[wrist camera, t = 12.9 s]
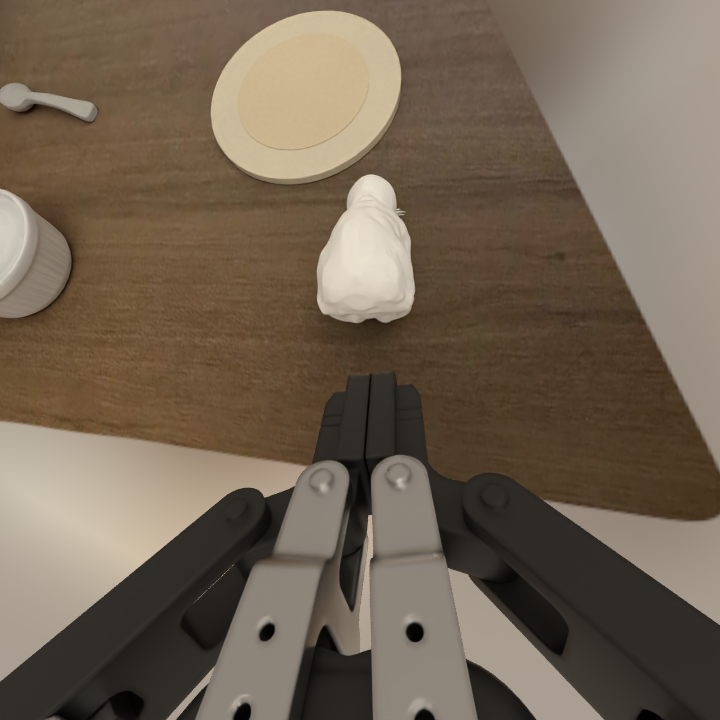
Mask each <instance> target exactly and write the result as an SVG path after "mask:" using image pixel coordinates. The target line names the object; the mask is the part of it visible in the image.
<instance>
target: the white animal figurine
mask: <svg viewBox="0 0 720 720" xmlns="http://www.w3.org/2000/svg"><path fill="white" fill-rule="evenodd" d="M397 210H400V209H396V196H395V193H394V190H393V188H392V186H391V185H390V184H389V183H388V182H387V181H386V180H385V179H383V178H381V177H380V176H377V175H366V176H363V177H362V178H360V179H359V180H358V181H357V182H356V183H355V184H354V185H353V187H352V188H351V190H350V192H349V195H348V198H347V211H345V212H344V213H343V214H342V216H341V217H340V219H339V220H338V222H337V224H336V226H335V227H334V229H333V231H332V233H331V237H330V239H329V241H328V243H327V245H326V246H325V247H324V249H323V250H322V252H321V254H320V257H319V262H318V267H317V281H318V294H317V302H318V305H319V308H320V310H321V311H322V313H323V314H325V315H326V314H329V315H330V316H332V317H333V318H335V319H338V320H342V321H345V322H353V323H360V322H362V321H364V320H365V319H371V318H376V319H378V320H379V321H381V322H384V323H387V322H390V321H392V320H395V319H399V318H401V317H404V316H405V315H407V314H408V313H409V312H410V310H411V307H412V304H413V301H414V293H415V284H414V278H413V268H412V263H411V255H410V251H411V240H410V236H409V234H408V232H407V228H406V226H405V224H404V222H403V221H402V220H401V219H400V218H399V217H398V215H404V214H397V213H400V212H405V211H397ZM396 211H397V212H396Z"/></svg>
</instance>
